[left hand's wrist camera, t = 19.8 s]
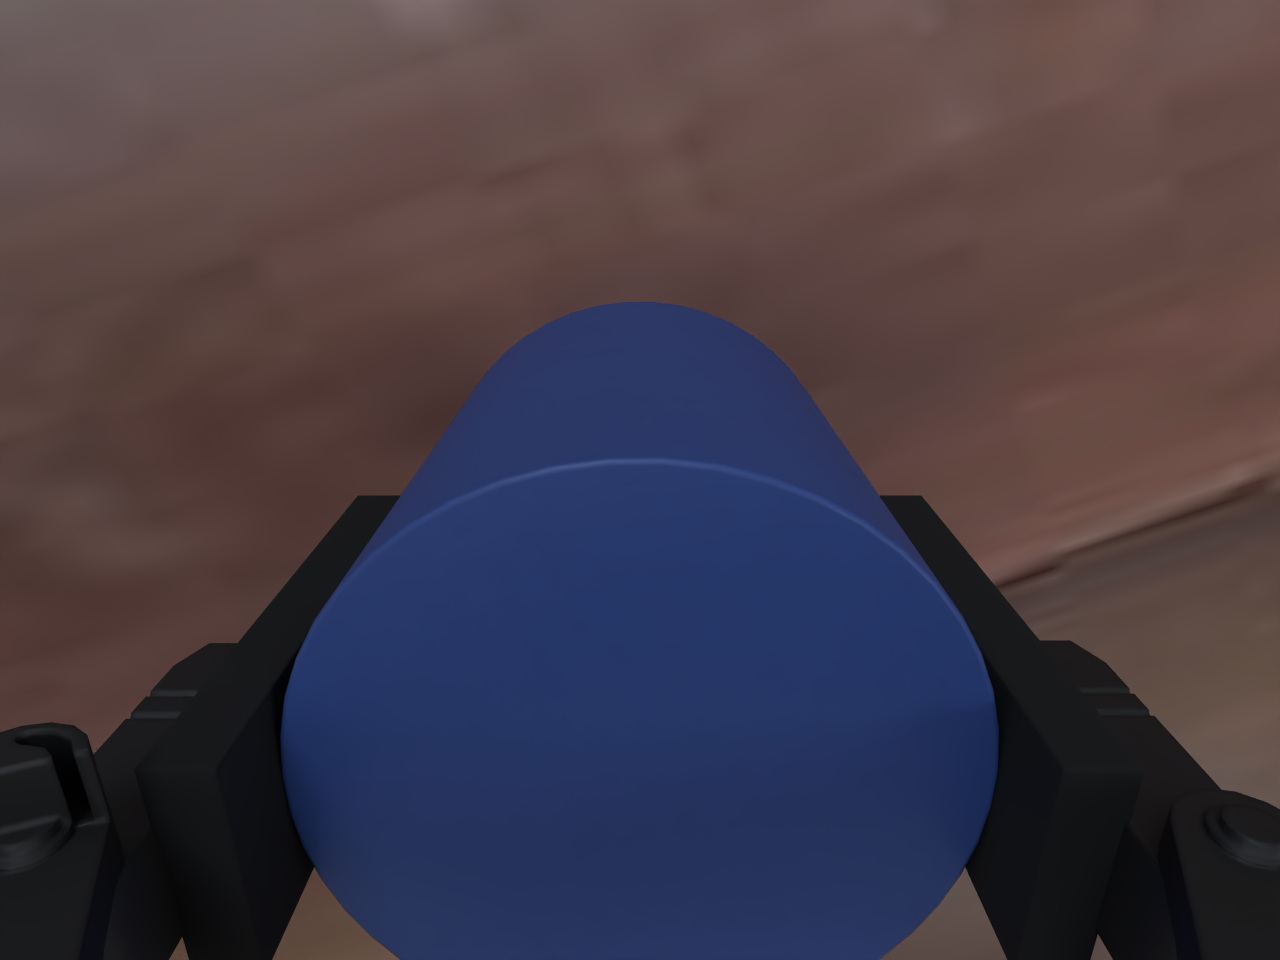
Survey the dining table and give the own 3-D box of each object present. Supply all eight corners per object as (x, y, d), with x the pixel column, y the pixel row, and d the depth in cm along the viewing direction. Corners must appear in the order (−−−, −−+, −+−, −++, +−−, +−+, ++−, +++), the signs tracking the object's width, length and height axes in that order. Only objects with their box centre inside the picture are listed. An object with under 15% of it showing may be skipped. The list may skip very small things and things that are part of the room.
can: (538, 228, 15) (425, 314, 7) (904, 407, 16) (1156, 650, 8) (395, 571, 18) (196, 916, 10) (719, 702, 19) (777, 1102, 11)
